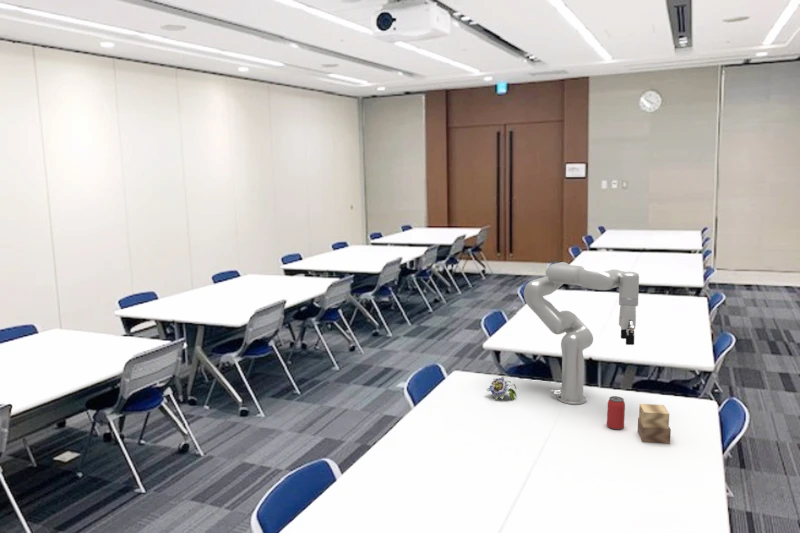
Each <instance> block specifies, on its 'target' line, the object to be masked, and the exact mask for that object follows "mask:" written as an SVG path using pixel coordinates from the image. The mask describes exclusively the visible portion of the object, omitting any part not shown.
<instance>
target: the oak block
mask: <svg viewBox="0 0 800 533" xmlns="http://www.w3.org/2000/svg"><path fill="white" fill-rule="evenodd" d="M665 406H666V405H664V404H649V403H639V407H638V408H639V409H638V418H639V419H640V421H641V423H642V425H643V427H645V428H662V429H669V427H670V413H669V411H668V409H667V407H665Z"/></svg>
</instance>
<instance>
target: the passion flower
mask: <svg viewBox="0 0 800 533" xmlns="http://www.w3.org/2000/svg"><path fill="white" fill-rule="evenodd" d="M510 384H511V385H510ZM511 386H514V388H515V390H517V386H516V384H515V383H513V384H512V381H511V380H507V381H505V376H504V375H502V376H501V377H499V378H497V377H496V378H493V381H492V382H491V385H489V387H488V388H486V391H487V392H490V393H492V394H491V398H494V400H495V401H498V400H499V398H500V399H501V400H503V399H504V398H505V395H506V394H509V397H510V399H511V400H512V401H515V397H517V393H516V391H515V390H514V389H513V388H512V387H511Z"/></svg>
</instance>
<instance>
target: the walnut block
mask: <svg viewBox="0 0 800 533" xmlns="http://www.w3.org/2000/svg"><path fill="white" fill-rule="evenodd" d="M671 432H672V430H671V428H670V426H669V429H662V428H645V427H643V425H642V423H641V421H640V419H639V417H638V418H637V434H638V437H639V438H640V440H641V442H642V443H648V444H649V443H651V444H663V445H671Z"/></svg>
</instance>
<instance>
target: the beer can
mask: <svg viewBox="0 0 800 533" xmlns="http://www.w3.org/2000/svg"><path fill="white" fill-rule="evenodd" d="M624 399H625V398H623V397H621V396H615V395H613V396H610V397H609V398H608V402H607V412H606V426H607V427H608V428H609V429H611V430H616V431H617V430H622V429H624V427H625V410H626V402H625V400H624Z"/></svg>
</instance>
